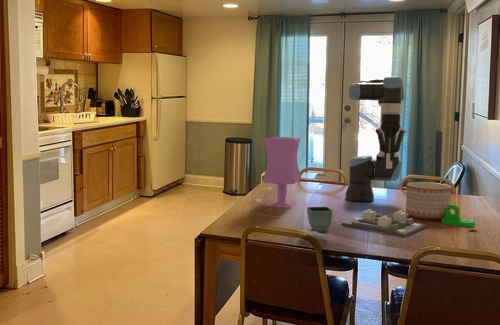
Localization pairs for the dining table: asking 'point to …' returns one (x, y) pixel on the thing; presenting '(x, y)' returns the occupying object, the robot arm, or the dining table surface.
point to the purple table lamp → (282, 166)
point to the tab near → (384, 221)
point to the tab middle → (369, 215)
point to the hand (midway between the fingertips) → (388, 168)
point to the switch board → (396, 227)
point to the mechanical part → (456, 218)
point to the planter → (427, 200)
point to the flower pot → (319, 218)
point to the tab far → (399, 216)
